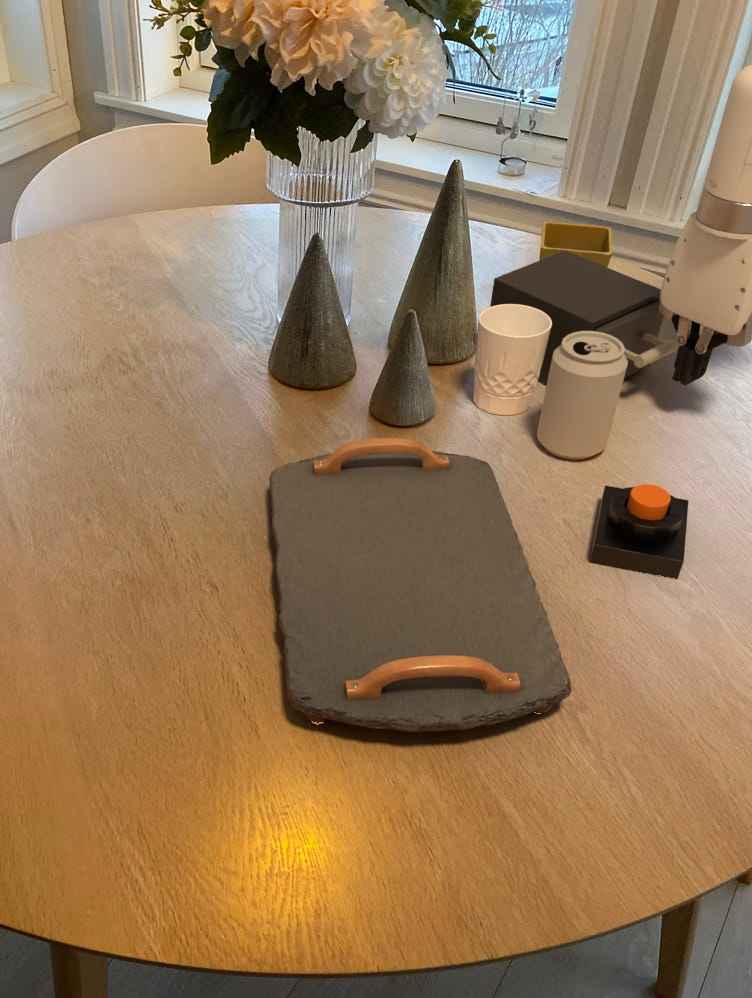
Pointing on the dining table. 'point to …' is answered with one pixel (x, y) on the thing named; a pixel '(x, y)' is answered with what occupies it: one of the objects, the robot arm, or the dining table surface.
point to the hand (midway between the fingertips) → (686, 378)
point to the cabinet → (571, 296)
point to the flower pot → (577, 241)
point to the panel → (639, 536)
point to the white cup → (509, 357)
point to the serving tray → (407, 592)
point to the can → (582, 394)
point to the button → (648, 502)
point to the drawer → (640, 336)
